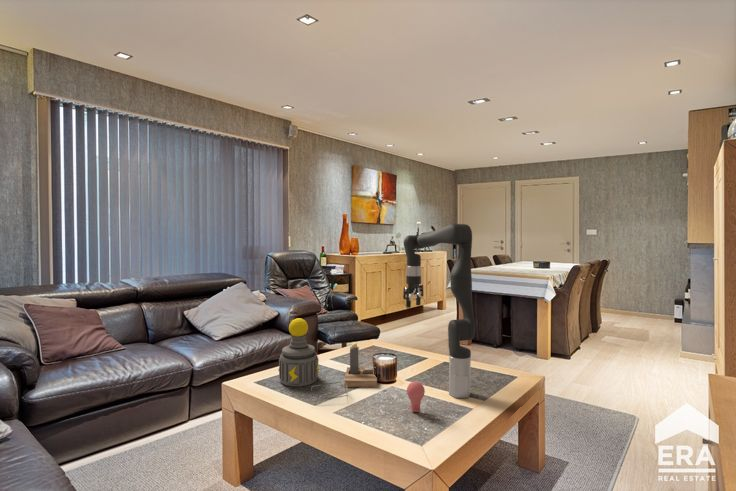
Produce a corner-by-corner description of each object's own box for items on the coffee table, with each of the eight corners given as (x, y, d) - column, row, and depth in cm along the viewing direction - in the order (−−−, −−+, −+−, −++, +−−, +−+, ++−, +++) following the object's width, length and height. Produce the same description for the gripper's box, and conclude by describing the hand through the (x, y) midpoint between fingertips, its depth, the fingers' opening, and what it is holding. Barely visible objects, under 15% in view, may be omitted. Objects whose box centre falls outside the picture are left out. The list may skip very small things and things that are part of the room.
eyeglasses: (350, 402, 182) (350, 390, 182) (315, 406, 178) (315, 394, 178) (343, 388, 197) (343, 377, 197) (310, 391, 194) (310, 380, 194)
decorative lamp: (322, 373, 215) (321, 314, 213) (313, 388, 196) (313, 323, 194) (285, 372, 217) (284, 313, 215) (273, 386, 198) (272, 322, 196)
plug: (358, 379, 207) (358, 345, 206) (350, 379, 207) (350, 344, 206) (358, 376, 211) (358, 342, 210) (350, 376, 211) (350, 342, 210)
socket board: (376, 387, 198) (376, 379, 197) (344, 386, 198) (344, 379, 198) (376, 373, 215) (376, 366, 215) (347, 373, 216) (347, 366, 216)
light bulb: (412, 406, 177) (413, 377, 177) (427, 410, 173) (428, 381, 172) (403, 412, 172) (403, 382, 171) (418, 417, 167) (418, 386, 167)
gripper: (411, 276, 210) (411, 309, 210) (427, 274, 220) (427, 305, 221) (399, 275, 215) (399, 307, 215) (415, 272, 225) (415, 303, 226)
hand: (413, 306), depth 218 cm, fingers open, 8 cm apart
